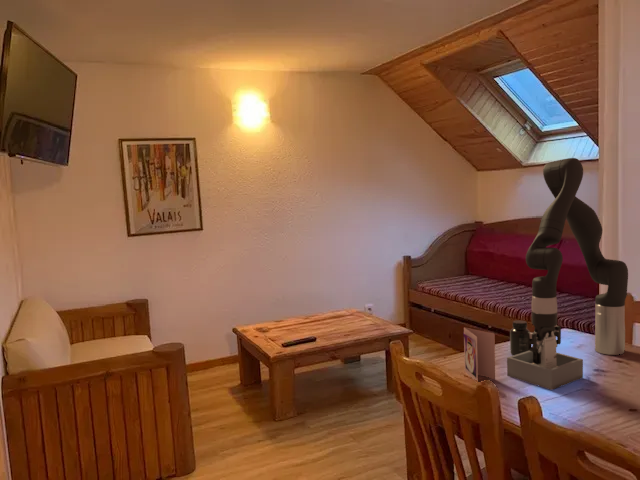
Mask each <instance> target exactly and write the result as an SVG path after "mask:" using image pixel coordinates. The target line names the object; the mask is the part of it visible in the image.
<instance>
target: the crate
mask: <svg viewBox="0 0 640 480" xmlns="http://www.w3.org/2000/svg"><path fill="white" fill-rule="evenodd" d="M556 361H557V367H555V368H552V369H549V368H545V367H542V366H539V365H535V364H534V362H533V352H532V351H526V352H523V353H520V354H517V355H510V356H508V357H506V368H507V369H506V371H507V374H506V375H507V377H511V378H514V379H517V380H520V381H522V382H525V381H526V383H529V384H532V385H536V386H538V385H539V387H542V388H544V389H547V390H550V391H553V390H555V389H558V388H561V387H564V386H565V385H568V384H572V383H573V382H575V381H579V380H581V379H583V378H584V359H582V358H578V357H576V356H570V355H567V354H563V353H560V352H556Z"/></svg>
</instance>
